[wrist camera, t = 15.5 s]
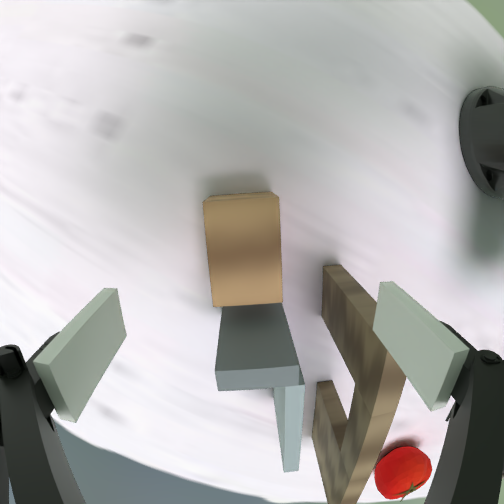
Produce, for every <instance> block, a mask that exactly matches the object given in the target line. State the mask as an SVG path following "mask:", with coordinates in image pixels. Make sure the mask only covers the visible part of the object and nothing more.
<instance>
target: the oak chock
mask: <svg viewBox="0 0 504 504" xmlns="http://www.w3.org/2000/svg"><path fill="white" fill-rule="evenodd" d="M203 212H204V223H205V234H206V244H207V254H208V264H209V273H210V282H211V291H212V299H213V307H222V306H239V305H254V304H268V303H281V302H283V298H282V261H281V233H280V209H279V197H278V196H277V195H275V194H274V193H273V192H260V193H244V194H229V195H216V196H210V197H208V198H207V199H206V200H205V201H204V202H203Z"/></svg>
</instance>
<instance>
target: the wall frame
mask: <svg viewBox="0 0 504 504" xmlns="http://www.w3.org/2000/svg"><path fill="white" fill-rule="evenodd" d="M376 306H377V302H376V301H375V300H374V299H373V298H372V297H371V296H370V295H369V294H368V293H367V292H366V290H365V289H364V288H363V287H362V286H361V285H360V284H359V283H358V282H357V281H356V280H355V279H354V278H353V277H352V276H351V275H350V274H349V273H348V272H347V271H346V270H345V269H344V268H343V267H342V266H341V265H332V266H323V291H322V318H323V320H324V322H325V324H326V326H327V328H328V330H329V332H330V334H331V336H332V338H333V340H334V342H335V344H336V346H337V348H338V350H339V352H340V353H341V355H342V357H343V359H344V361H345V364H346V366H347V368H348V370H349V372H350V374H351V376H352V378H353V380H354V382H355V388H354V394H353V399H352V404H351V409H350V413H349V418H348V419H347V417H346V414H345V412H344V409H343V406H342V404H341V401H340V399H339V396H338V394H337V391H336V389H335V386H334V384H333V381H332V380H331V381H324V382H317V393H316V403H315V413H314V423H313V431H312V440H313V444H314V448H315V452H316V456H317V460H318V464H319V469H320V473H321V477H322V481H323V485H324V489H325V494H326V498H327V502H328V504H356V503H357V501H358V499H359V497H360V495H361V493H362V491H363V489H364V487H365V485H366V483H367V481H368V479H369V477H370V474H371V472H372V470H373V468H374V466H375V463H376V461H377V459H378V456H379V454H380V452H381V449H382V447H383V444H384V442H385V439H386V437H387V434H388V431H389V429H390V426H391V423H392V421H393V418H394V415H395V412H396V409H397V406H398V403H399V400H400V397H401V394H402V390H403V387H404V384H405V380H406V375H405V374H404V372H403V371H402V369H401V368H400V367H399V365H398V364H397V362H396V361H395V360H394V358H393V357H392V356H391V354H390V353H389V351H388V350H387V349H386V347H385V346H384V345H383V343H382V342H381V341H380V339H379V338H378V336H377V335H376V334H375V332H374V331H373V324H374V318H375V313H376Z"/></svg>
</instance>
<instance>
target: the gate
mask: <svg viewBox="0 0 504 504" xmlns="http://www.w3.org/2000/svg"><path fill="white" fill-rule="evenodd" d="M215 375H216V381H217V387H218V391H235V390H253V389H267V388H274V404H275V412H276V419H277V426H278V433H279V441H280V448H281V455H282V462H283V470H284V472H292V471H298V470H299V460H300V449H301V437H302V425H303V411H304V395H305V382H304V379H303V375H302V372H301V368H300V365H299V361H298V358H297V354H296V351H295V347H294V344H293V340H292V337H291V333H290V330H289V326H288V323H287V319H286V316H285V313H284V310H283V306H282V303H268V304H254V305H239V306H223V307H222V315H221V323H220V331H219V339H218V348H217V356H216V365H215Z"/></svg>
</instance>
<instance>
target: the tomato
mask: <svg viewBox="0 0 504 504" xmlns="http://www.w3.org/2000/svg"><path fill="white" fill-rule="evenodd" d="M431 472H432V466H431V461H430V459H429V458H428V456H427V455H426V454H425V453H423V452H422V451H421V450H419V449H418V448H415V447H410V446H407V447H399V448H396V449H394V450H392V451H391V452H390V453H388V454H387V455H386V456H384V457H383V458H382V459H381V460H380V461H379V463H378V464H377V466H376V469H375V477H374V478H375V483H376V486H377V489H378V491H379V492H380V493H381V494H382V495H383V496H384V497H385V498H387V499H397V498H399V497H403V498H404V497H405V496H406V495H408V494H409V493H411V492H413V491H415V490H417V489H418V488H420V487H421V486H422V485H424V484H425V483H426V481H427V480H428V479H429V477H430V475H431ZM403 498H402V499H403ZM401 501H402V500H401Z"/></svg>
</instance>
